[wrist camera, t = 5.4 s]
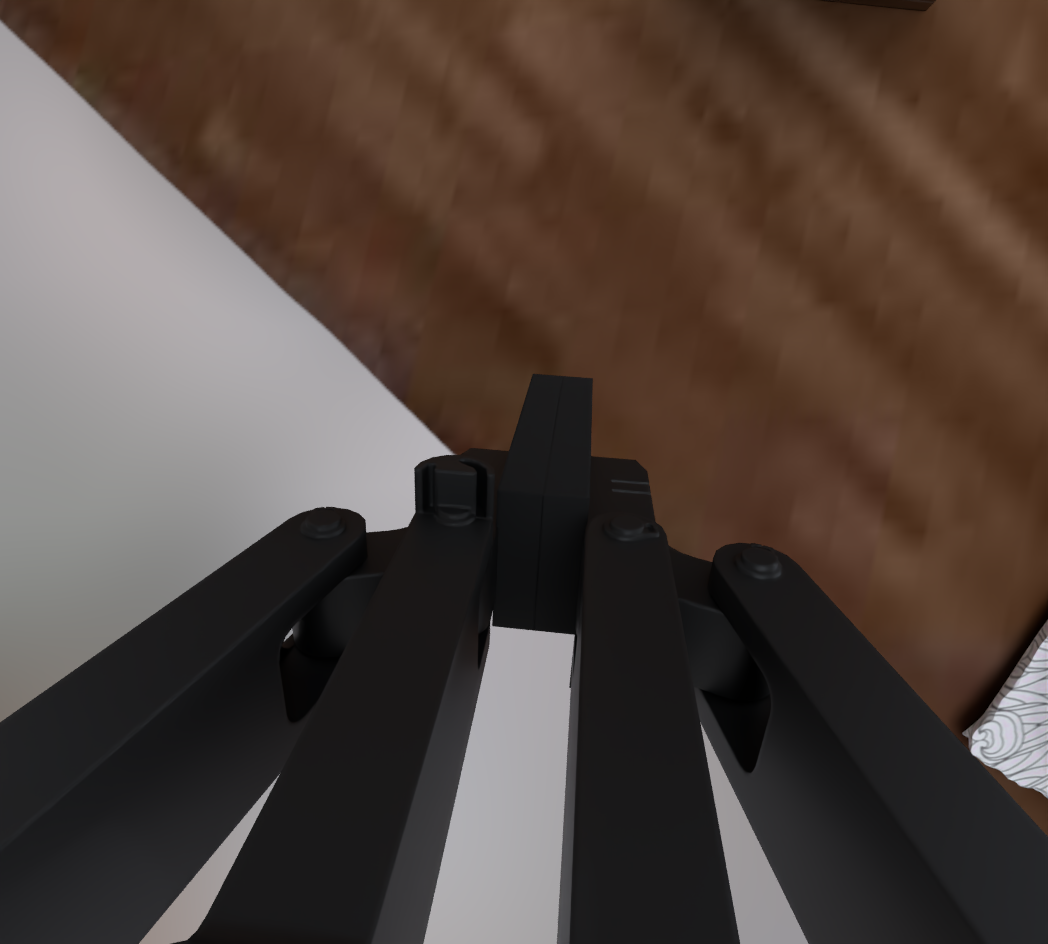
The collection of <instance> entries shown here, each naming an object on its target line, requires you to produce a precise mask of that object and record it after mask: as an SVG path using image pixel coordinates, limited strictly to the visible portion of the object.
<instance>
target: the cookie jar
mask: <svg viewBox="0 0 1048 944" xmlns="http://www.w3.org/2000/svg"><path fill="white" fill-rule="evenodd" d="M962 734H963V735H964V736H966V737H968V738H969V749H970V751H971V753H972V755H974V756H976V757H977V758H978V759H980V760H981V761H982V762H983V763H984V764H985V765H988V766H990V767H992V768H996V769H998V770H1000V771H1001V772H1002V773H1003V774H1004V775H1005V776H1006V777H1007V778H1008V779H1009V780H1012V781H1015V782H1016V783H1017V784H1018V785H1019V786H1021V787H1026V788H1033V789H1035V790H1037V791H1039V792H1041V793H1042V794H1043V795H1044V796H1045V797H1047V798H1048V620H1047V621H1046V623H1045V624H1044V626H1043V627H1042V628H1041V630H1040V631H1039V632H1038V634H1037V635H1036V637H1035V638H1034V640H1033V641H1032V643H1031V644H1030V645H1029V647H1028V648H1027V650H1026V651H1025V653H1024V654H1023V656H1022V657H1021V659H1020V661H1019V662H1018V664H1017V665H1016V667H1015V668H1014V670H1013V671H1012V673H1011V674H1010V676H1009V677H1008V679H1007V680H1006V682H1005V683H1004V685H1003V686H1002V688H1001V689H1000V691H999V692H998V694H997V695H996V697H995V698H994V700H993V701H992V703H991V704H990V705H989V707H988V708H987V710H986V711H985V713H984V714H983V715H982V716H981V718H979V719H978V720H977V721H976V722H975V723H974V724H973V725H971V726H970V727H969V728H968V729H967V730H966V731H964V732H963V733H962Z"/></svg>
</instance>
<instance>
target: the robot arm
mask: <svg viewBox="0 0 1048 944" xmlns="http://www.w3.org/2000/svg"><path fill="white" fill-rule="evenodd" d="M592 384H593V378H580V377H566V376H553V375H540V374H533V376H532V379H531V382H530V385H529V389H528V392H527V395H526V398H525V401H524V405H523V408H522V411H521V414H520V418H519V421H518V424H517V427H516V431H515V434H514V437H513V440H512V443H511V447H510V450H509V451H500V450H488V449H477V448H470V449H469V450H467V451H466V452H464V453H462V454H461V455H445V456H439V457H432V458H430V459H427V460H425V461H422V462H420V463H419V464H418V465H417V466H416V467H415V468H414V469H415V505H416V506H415V507H416V508H415V510H416V513H415V515H414V516H413V518H412V520H411V522H410V524H409V526H408V527H405V528H402V529H397V530H390V531H380V532H369V533H366V523H365V519H364V518H363V517H362V516H361V515H360V514H358V513H356V512H353V511H351V510H348V509H341V508H335V507H326V508H324V507H321V508H315V509H313V510H310V511H306V512H302V513H300V514H298V515H296V516H294V517H292V518H290V519H288V520H287V521H285V522H284V523H283V524H281V525H280V526H279V527H277V528H276V529H274V530H273V531H271V532H270V533H268V534H267V535H266V536H264V537H263V538H261V539H260V540H258V541H257V542H256V543H254V544H253V545H251V546H250V547H249V548H247V549H246V550H244V551H243V552H242V553H240V554H239V555H237V556H236V557H234V558H233V559H232V560H230V561H229V562H227V563H226V564H225V565H223V566H222V567H220V568H219V569H217V570H216V571H214V572H213V573H212V574H210V575H209V576H207V577H206V578H205V579H203V580H202V581H200V582H199V583H198V584H196V585H195V586H193V587H192V588H190V589H189V590H188V591H186V592H185V593H183V594H182V595H180V596H179V597H178V598H176V599H175V600H173V601H172V602H170V603H169V604H168V605H166V606H165V607H163V608H162V609H161V610H159V611H158V612H156V613H155V614H153V615H152V616H151V617H149V618H148V619H146V620H145V621H143V622H142V623H141V624H139V625H138V626H136V627H135V628H134V629H132V630H131V631H129V632H128V633H127V634H125V635H124V636H122V637H121V638H120V639H118V640H117V641H115V642H114V643H112V644H111V645H109V646H108V647H107V648H105V649H104V650H102V651H101V652H99V653H98V654H97V655H95V656H94V657H92V658H91V659H90V660H88V661H87V662H85V663H84V664H82V665H81V666H80V667H78V668H77V669H75V670H74V671H73V672H71V673H70V674H68V675H67V676H65V677H64V678H63V679H61V680H60V681H58V682H57V683H56V684H54V685H53V686H52V687H50V688H49V689H47V690H46V691H44V692H43V693H41V694H40V695H39V696H37V697H36V698H34V699H33V700H32V701H30V702H29V703H27V704H26V705H24V706H23V707H22V708H20V709H19V710H17V711H16V712H14V713H13V714H12V715H10V716H9V717H7V718H6V719H4V720H3V721H2V722H0V944H139V943H140V941H141V940H142V939H143V938H144V937H145V935H146V934H147V933H148V932H149V930H150V929H151V928H152V927H153V926H154V924H155V923H156V922H157V921H158V920H159V918H160V917H161V916H162V915H163V913H164V912H165V911H166V910H167V909H168V908H169V906H170V905H171V904H172V903H173V902H174V900H175V899H176V898H177V897H178V896H179V894H180V893H181V892H182V891H183V890H184V888H185V887H186V886H187V885H188V884H189V882H190V881H191V880H192V879H193V878H194V876H195V875H196V874H197V873H198V871H199V870H200V869H201V868H202V867H203V865H204V864H205V863H206V862H207V861H208V860H209V858H210V857H211V856H212V855H213V853H214V852H215V851H216V850H217V849H218V847H219V846H220V845H221V844H222V843H223V841H224V840H225V839H226V838H227V837H228V835H229V834H230V833H231V832H232V831H233V829H234V828H235V827H236V826H237V824H238V823H239V822H240V821H241V820H242V819H243V817H244V816H245V815H246V814H247V813H248V811H249V810H250V809H251V808H252V807H253V805H254V804H255V803H256V801H258V799H259V798H260V797H261V795H263V793H264V792H265V791H266V790H267V789H268V787H269V786H270V785H271V784H272V783H273V781H274V780H275V779H276V778H277V776H278V775H279V774H280V775H279V777H278V779H277V781H276V783H275V785H274V787H273V789H272V791H271V792H270V794H269V796H268V798H267V800H266V802H265V804H264V806H263V808H262V810H261V812H260V814H259V816H258V818H257V819H256V821H255V823H254V825H253V827H252V829H251V831H250V833H249V835H248V837H247V839H246V841H245V843H244V844H243V847H242V848H241V850H240V852H239V854H238V856H237V858H236V860H235V862H234V864H233V866H232V868H231V870H230V871H229V873H228V875H227V877H226V879H225V881H224V883H223V885H222V887H221V889H220V891H219V893H218V895H217V897H216V899H215V901H214V902H213V904H212V906H211V908H210V910H209V912H208V914H207V916H206V917H205V919H204V920H203V922H202V924H201V925H200V927H199V929H198V930H197V931H196V932H195V933H194V934H193V935H192V936H191V937H190V938H189V939H188V940H186V941H181V942H177V943H172V944H423V942H424V938H425V933H426V929H427V924H428V920H429V915H430V911H431V906H432V902H433V897H434V893H435V888H436V883H437V879H438V875H439V870H440V866H441V861H442V857H443V852H444V847H445V843H446V839H447V834H448V829H449V825H450V820H451V816H452V811H453V807H454V802H455V797H456V793H457V789H458V784H459V780H460V775H461V771H462V766H463V762H464V757H465V753H466V748H467V743H468V739H469V735H470V730H471V726H472V721H473V717H474V712H475V708H476V703H477V698H478V694H479V689H480V685H481V680H482V676H483V671H484V667H485V662H486V658H487V653H488V649H489V640H490V620H491V616H492V611H493V623H492V625H493V626H497V627H506V628H516V629H526V630H535V631H545V632H555V633H564V634H574V635H575V638H574V647H573V657H572V667H571V677H570V688H571V697H570V716H569V734H568V752H567V770H566V788H565V808H564V825H563V844H562V862H561V880H560V898H559V916H558V934H557V944H740V940H739V935H738V930H737V924H736V918H735V913H734V907H733V902H732V896H731V890H730V885H729V880H728V874H727V869H726V863H725V857H724V852H723V846H722V841H721V835H720V829H719V824H718V818H717V813H716V807H715V802H714V796H713V791H712V786H711V780H710V774H709V768H708V763H707V757H706V752H705V747H704V741H703V735H702V730H701V724H702V726H703V728H704V730H705V732H706V734H707V736H708V739H709V740H710V743H711V745H712V746H713V749H714V751H715V753H716V755H717V757H718V759H719V761H720V763H721V765H722V767H723V769H724V771H725V773H726V775H727V777H728V779H729V782H730V784H731V786H732V788H733V790H734V792H735V794H736V796H737V798H738V800H739V802H740V804H741V806H742V808H743V810H744V812H745V814H746V816H747V818H748V820H749V823H750V825H751V826H752V829H753V831H754V833H755V835H756V836H757V839H758V841H759V843H760V845H761V847H762V849H763V851H764V853H765V855H766V857H767V859H768V861H769V864H770V866H771V868H772V870H773V872H774V874H775V876H776V878H777V880H778V882H779V884H780V886H781V888H782V890H783V892H784V894H785V896H786V898H787V900H788V902H789V904H790V907H791V909H792V910H793V913H794V915H795V917H796V919H797V921H798V923H799V925H800V927H801V929H802V931H803V933H804V935H805V937H806V939H807V941H808V943H809V944H1048V837H1047V835H1046V834H1045V833H1044V832H1043V831H1042V830H1041V829H1040V828H1039V827H1038V826H1037V825H1036V823H1035V822H1034V821H1033V820H1032V819H1031V818H1030V817H1029V816H1028V815H1027V814H1026V812H1025V811H1024V810H1023V809H1022V808H1021V807H1020V806H1019V805H1018V804H1017V803H1016V802H1015V800H1014V799H1013V798H1012V797H1011V796H1010V795H1009V794H1008V793H1007V792H1006V791H1005V790H1004V788H1003V787H1002V786H1001V785H1000V784H999V783H998V782H997V781H996V780H995V779H994V778H993V776H992V775H991V774H990V773H989V772H988V771H987V770H986V769H985V768H984V767H983V766H982V764H981V763H980V762H979V761H978V760H977V759H976V758H975V757H974V756H973V755H972V754H971V752H970V751H969V750H968V749H967V748H966V747H965V746H964V745H963V744H962V743H961V742H960V740H959V739H958V738H957V737H956V736H955V735H954V734H953V733H952V732H951V731H950V730H949V728H948V727H947V726H946V725H945V724H944V723H943V722H942V721H941V720H940V719H939V718H938V716H937V715H936V714H935V713H934V712H933V711H932V710H931V709H930V708H929V707H928V706H927V704H926V703H925V702H924V701H923V700H922V699H921V698H920V697H919V696H918V695H917V693H916V692H915V691H914V690H913V689H912V688H911V687H910V686H909V685H908V684H907V683H906V681H905V680H904V679H903V678H902V677H901V676H900V675H899V674H898V673H897V672H896V671H895V669H894V668H893V667H892V666H891V665H890V664H889V663H888V662H887V661H886V660H885V659H884V657H883V656H882V655H881V654H880V653H879V652H878V651H877V650H876V649H875V648H874V647H873V645H872V644H871V643H870V642H869V641H868V640H867V639H866V638H865V637H864V636H863V635H862V633H861V632H860V631H859V630H858V629H857V628H856V627H855V626H854V625H853V624H852V623H851V621H850V620H849V619H848V618H847V617H846V616H845V615H844V614H843V613H842V612H841V611H840V609H839V608H838V607H837V606H836V605H835V604H834V603H833V602H832V601H831V600H830V599H829V597H828V596H827V595H826V594H825V593H824V592H823V591H822V590H821V589H820V588H819V586H818V585H817V584H816V583H815V582H814V581H813V580H812V579H811V578H810V577H809V576H808V574H807V573H806V572H805V571H804V570H803V569H802V568H801V567H800V566H799V565H798V564H797V563H796V562H795V561H793V560H792V559H791V558H790V557H788V556H787V555H785V554H783V553H781V552H779V551H776V550H774V549H773V548H771V547H768V546H761V545H760V544H755V543H751V544H747V543H736V544H729V545H725V546H723V547H721V548H720V549H718V550H716V553H715V555H714V557H713V562H709V561H706V560H702V559H698V558H695V557H692V556H689V555H686V554H683V553H681V552H679V551H677V550H675V549H673V548H671V547H670V546H669V545H668V541H667V536H666V533H665V532H664V530H663V528H662V527H661V526H660V525H659V524H657V523H656V522H655V517H654V511H653V504H652V498H651V495H650V493H651V492H650V486H649V480H648V473H647V471H646V470H645V469H644V468H643V467H642V466H641V465H640V464H639V463H638V462H637V461H636V460H628V459H616V458H605V457H593V456H591V427H592ZM291 628H292V629H293V634H292V635H291V636H290V637H289V638H288V639H286V641H284V639H285V637H286V635H287V634H288V633H289V631H290V630H291ZM700 722H701V724H700Z"/></svg>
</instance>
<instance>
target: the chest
mask: <svg viewBox="0 0 1048 944" xmlns="http://www.w3.org/2000/svg"><path fill="white" fill-rule="evenodd" d="M825 1H835V2H845V3H855V4H864V5H874V6H884V7H894V8H904V9H914V10H924V11H925V10H927V9H928V8H929V7H930V6H931V5H932V4H933V3H934V2H935V1H936V0H825Z"/></svg>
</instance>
